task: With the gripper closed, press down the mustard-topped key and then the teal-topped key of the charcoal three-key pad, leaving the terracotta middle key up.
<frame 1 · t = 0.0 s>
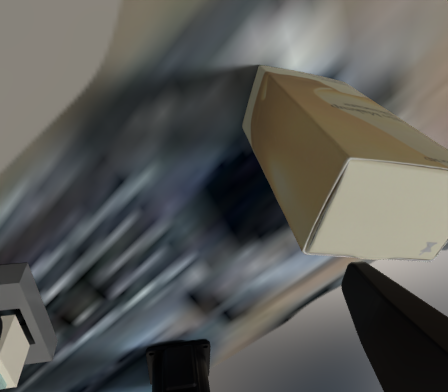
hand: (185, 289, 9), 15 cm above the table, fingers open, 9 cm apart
skincare box: (289, 104, 22), on the table
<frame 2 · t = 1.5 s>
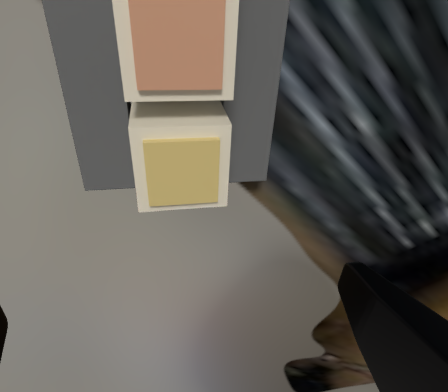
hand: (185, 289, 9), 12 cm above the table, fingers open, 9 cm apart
keypad base: (171, 19, 16), on the table
key 2: (176, 34, 13), point 4 cm above the table, slide at 0.0 cm
key 3: (180, 154, 15), point 4 cm above the table, slide at 0.0 cm
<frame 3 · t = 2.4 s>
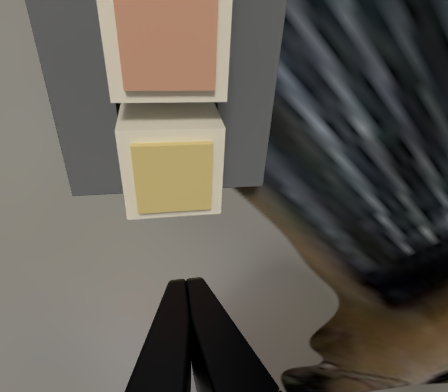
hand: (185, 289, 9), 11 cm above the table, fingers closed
keypad base: (163, 17, 15), on the table
key 2: (166, 32, 12), point 4 cm above the table, slide at 0.0 cm
key 3: (171, 159, 15), point 4 cm above the table, slide at 0.0 cm
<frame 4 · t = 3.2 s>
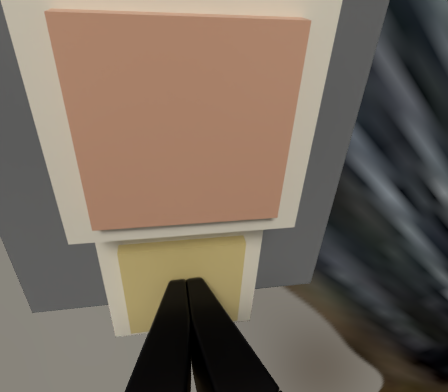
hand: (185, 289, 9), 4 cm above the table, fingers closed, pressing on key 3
keypad base: (169, 50, 9), on the table
key 2: (179, 97, 6), point 4 cm above the table, slide at 0.0 cm
key 3: (180, 244, 10), point 3 cm above the table, slide at 1.6 cm, touching gripper
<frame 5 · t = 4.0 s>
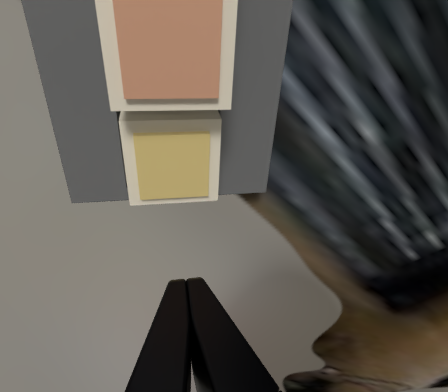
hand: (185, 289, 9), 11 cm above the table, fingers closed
keypad base: (164, 20, 15), on the table
key 2: (168, 37, 11), point 4 cm above the table, slide at 0.0 cm
key 3: (171, 149, 16), point 2 cm above the table, slide at 1.7 cm
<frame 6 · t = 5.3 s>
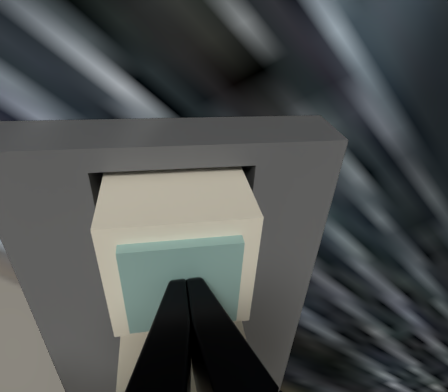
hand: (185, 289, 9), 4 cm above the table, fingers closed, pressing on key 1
keypad base: (178, 290, 15), on the table
key 2: (185, 382, 12), point 4 cm above the table, slide at 0.0 cm
key 1: (178, 244, 10), point 3 cm above the table, slide at 1.6 cm, touching gripper
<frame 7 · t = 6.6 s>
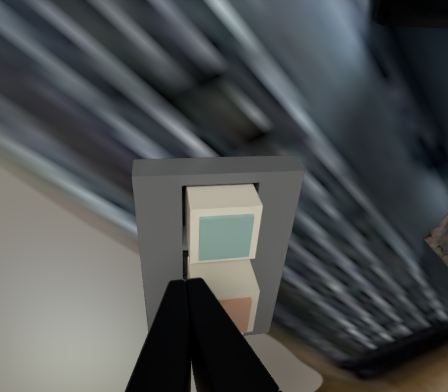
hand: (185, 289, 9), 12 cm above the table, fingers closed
keypad base: (211, 252, 25), on the table
key 2: (220, 296, 22), point 4 cm above the table, slide at 0.0 cm
key 1: (220, 219, 21), point 2 cm above the table, slide at 1.7 cm
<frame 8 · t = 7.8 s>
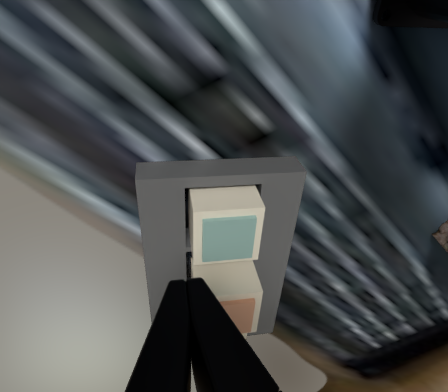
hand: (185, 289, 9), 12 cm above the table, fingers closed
keypad base: (214, 253, 25), on the table
key 2: (224, 297, 22), point 4 cm above the table, slide at 0.0 cm
key 3: (217, 322, 26), point 2 cm above the table, slide at 1.7 cm
key 1: (223, 221, 21), point 2 cm above the table, slide at 1.7 cm
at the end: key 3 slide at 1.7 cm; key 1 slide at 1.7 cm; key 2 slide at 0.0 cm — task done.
